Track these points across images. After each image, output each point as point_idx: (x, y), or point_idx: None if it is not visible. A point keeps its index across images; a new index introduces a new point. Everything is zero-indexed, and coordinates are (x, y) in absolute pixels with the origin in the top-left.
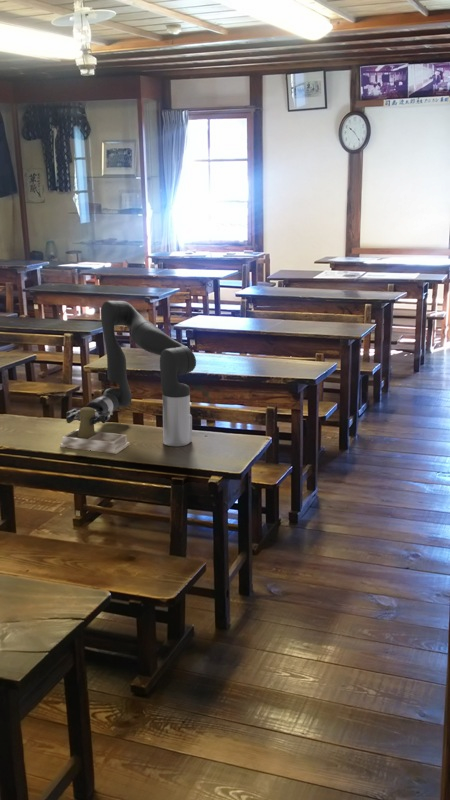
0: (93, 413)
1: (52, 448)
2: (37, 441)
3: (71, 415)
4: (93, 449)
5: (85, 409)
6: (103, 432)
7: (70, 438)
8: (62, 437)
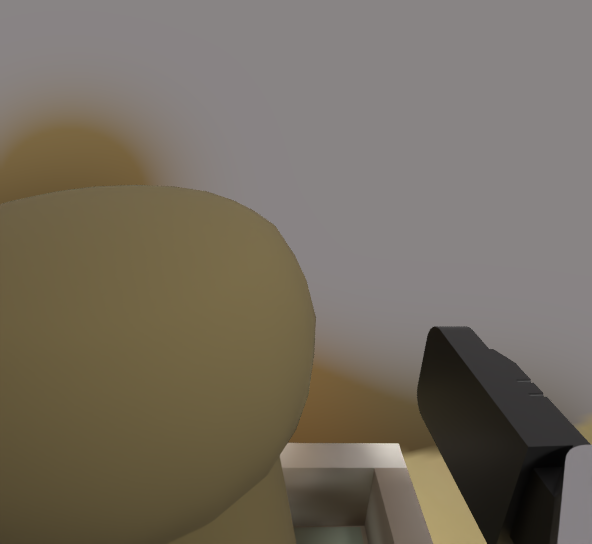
0: None
1: (433, 470)
2: None
3: (485, 384)
4: None
5: (125, 185)
6: None
7: (302, 445)
8: (395, 445)
